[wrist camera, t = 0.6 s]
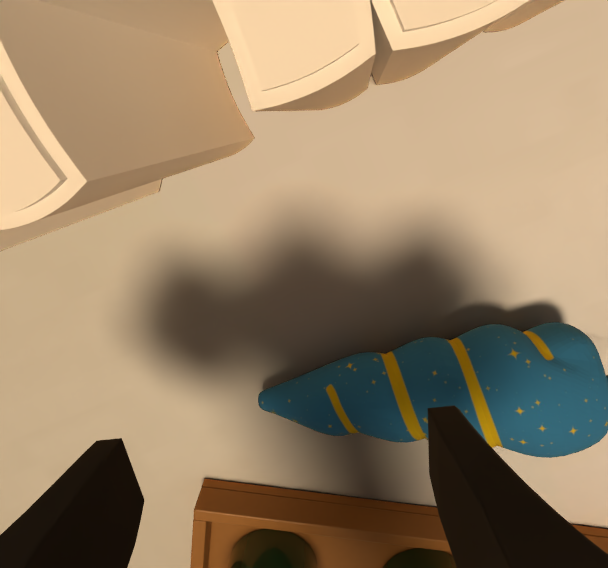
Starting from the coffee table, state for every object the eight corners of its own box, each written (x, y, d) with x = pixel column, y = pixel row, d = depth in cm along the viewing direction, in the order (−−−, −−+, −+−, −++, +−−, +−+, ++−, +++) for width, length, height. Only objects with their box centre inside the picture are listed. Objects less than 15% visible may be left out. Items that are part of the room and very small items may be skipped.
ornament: (268, 335, 25) (613, 301, 21) (283, 438, 25) (624, 422, 21) (229, 361, 20) (673, 322, 16) (248, 490, 20) (687, 480, 16)
